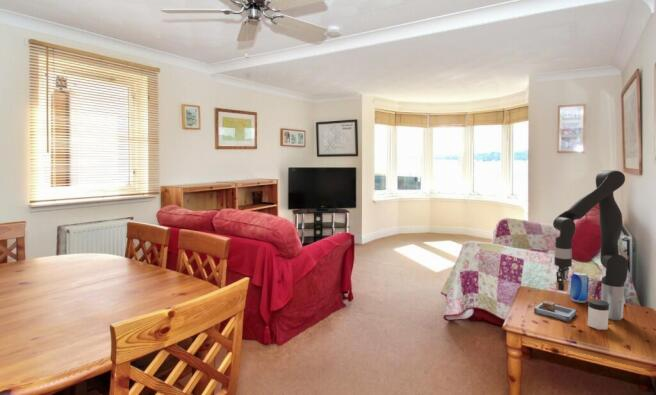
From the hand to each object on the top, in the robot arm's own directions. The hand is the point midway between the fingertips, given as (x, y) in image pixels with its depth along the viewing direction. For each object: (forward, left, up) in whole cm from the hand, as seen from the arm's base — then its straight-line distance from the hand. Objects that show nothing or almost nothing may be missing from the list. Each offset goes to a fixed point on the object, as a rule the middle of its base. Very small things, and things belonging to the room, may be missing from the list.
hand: (562, 288), depth 193 cm
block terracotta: (0, 0, 0) cm, 0 cm away
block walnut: (+6, -2, -14) cm, 16 cm away
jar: (-16, 0, -15) cm, 22 cm away
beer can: (0, -32, -15) cm, 35 cm away
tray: (+3, -2, -15) cm, 15 cm away
